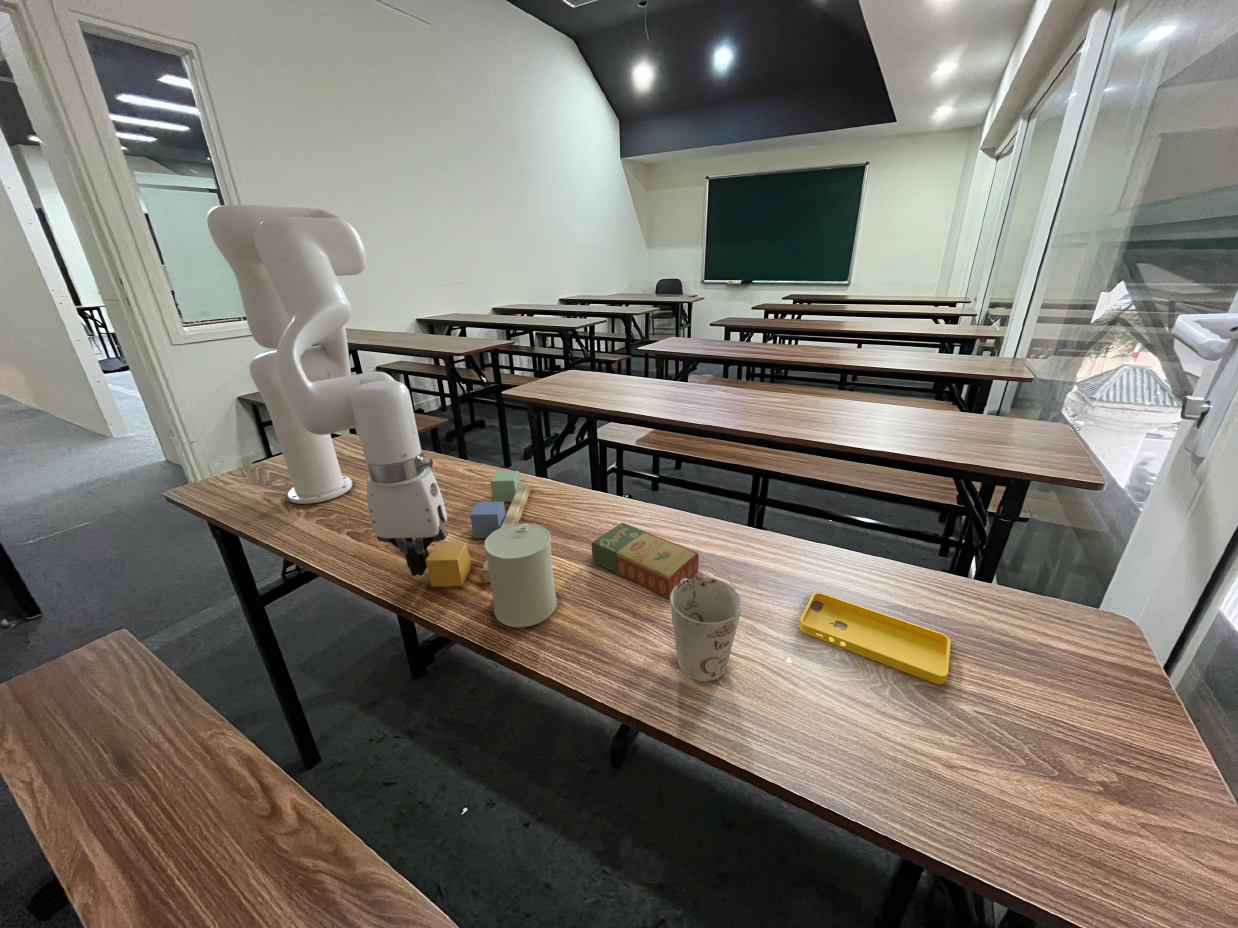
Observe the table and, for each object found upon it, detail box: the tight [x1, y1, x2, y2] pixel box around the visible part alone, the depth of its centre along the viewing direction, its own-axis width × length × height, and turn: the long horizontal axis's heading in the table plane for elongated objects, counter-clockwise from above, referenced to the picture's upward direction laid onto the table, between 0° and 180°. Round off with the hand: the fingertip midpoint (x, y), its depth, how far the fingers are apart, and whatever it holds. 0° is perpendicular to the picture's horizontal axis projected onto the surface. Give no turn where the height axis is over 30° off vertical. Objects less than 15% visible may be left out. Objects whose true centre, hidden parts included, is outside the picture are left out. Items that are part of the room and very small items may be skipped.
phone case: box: [798, 591, 952, 685], centre depth 63 cm, size 8×17×1 cm, turn 55°
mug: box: [669, 577, 743, 682], centre depth 60 cm, size 8×13×10 cm, turn 16°
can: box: [483, 522, 558, 628], centre depth 69 cm, size 9×9×12 cm
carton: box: [591, 522, 700, 599], centre depth 78 cm, size 8×16×4 cm, turn 50°
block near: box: [426, 541, 472, 588], centre depth 77 cm, size 5×5×5 cm
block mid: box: [469, 501, 506, 539], centre depth 90 cm, size 5×5×5 cm
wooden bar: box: [481, 482, 531, 584], centre depth 91 cm, size 32×2×2 cm, turn 0°
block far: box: [490, 470, 521, 503], centre depth 103 cm, size 5×5×5 cm
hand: (420, 570), depth 77 cm, fingers closed
